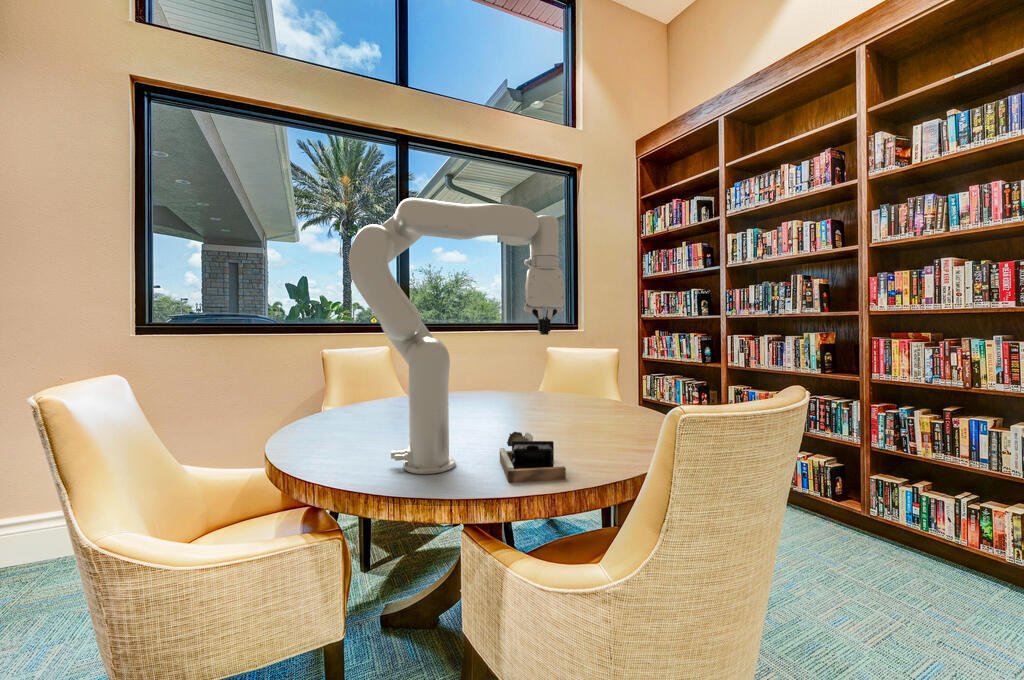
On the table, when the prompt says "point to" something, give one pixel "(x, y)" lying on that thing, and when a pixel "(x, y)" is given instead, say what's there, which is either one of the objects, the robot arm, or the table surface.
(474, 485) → the table surface
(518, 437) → the squirrel figurine
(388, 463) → the table surface
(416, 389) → the robot arm
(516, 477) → the wooden tray
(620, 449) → the table surface
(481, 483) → the table surface
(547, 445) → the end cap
